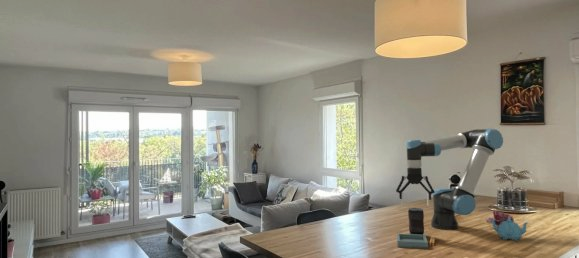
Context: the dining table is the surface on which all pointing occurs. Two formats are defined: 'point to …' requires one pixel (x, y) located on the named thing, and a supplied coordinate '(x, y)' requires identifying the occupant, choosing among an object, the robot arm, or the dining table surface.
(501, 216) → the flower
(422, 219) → the camera lens
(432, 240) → the fuse puller tool
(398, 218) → the dining table surface
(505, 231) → the teapot
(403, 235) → the tray
